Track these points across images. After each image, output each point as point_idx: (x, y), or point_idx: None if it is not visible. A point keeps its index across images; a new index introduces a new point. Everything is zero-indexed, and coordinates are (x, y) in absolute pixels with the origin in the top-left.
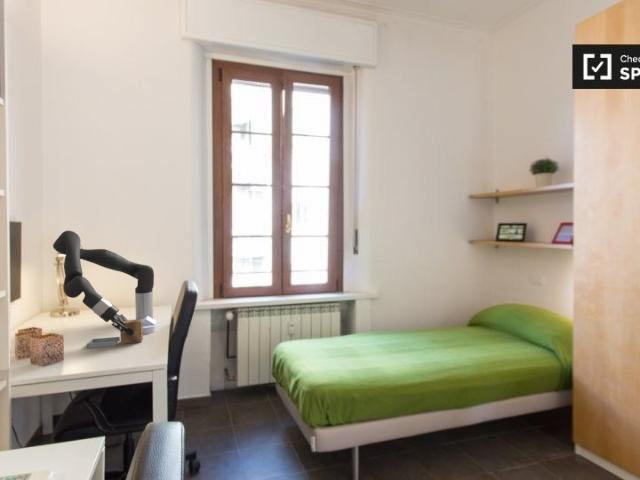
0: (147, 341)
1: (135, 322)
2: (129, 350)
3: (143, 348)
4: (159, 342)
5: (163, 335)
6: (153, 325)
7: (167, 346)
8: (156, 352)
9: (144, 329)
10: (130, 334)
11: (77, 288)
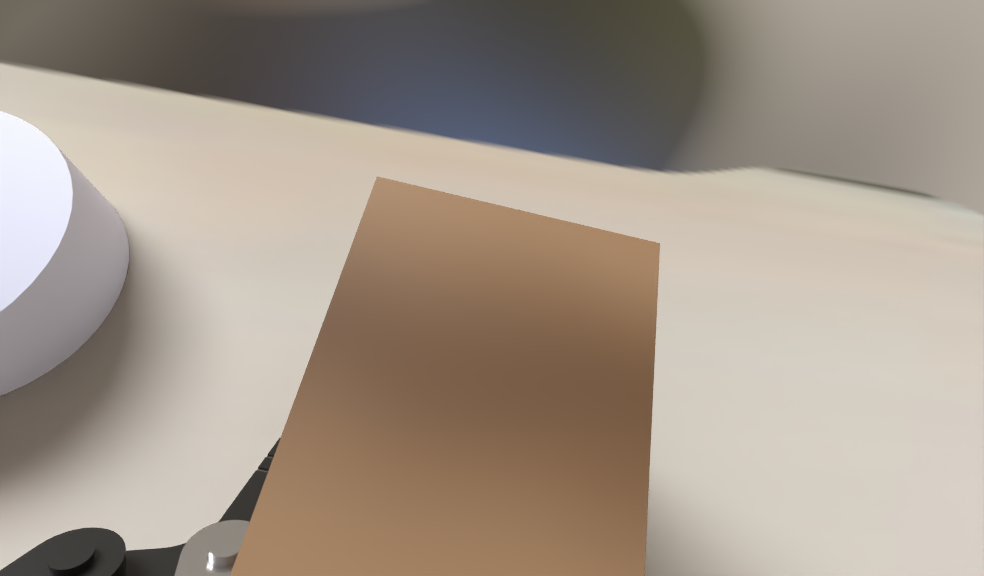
0: None
1: (645, 379)
2: (843, 558)
3: (797, 387)
4: (621, 214)
5: (354, 137)
6: (2, 133)
7: (784, 178)
8: (952, 286)
9: (63, 279)
10: None
11: None
